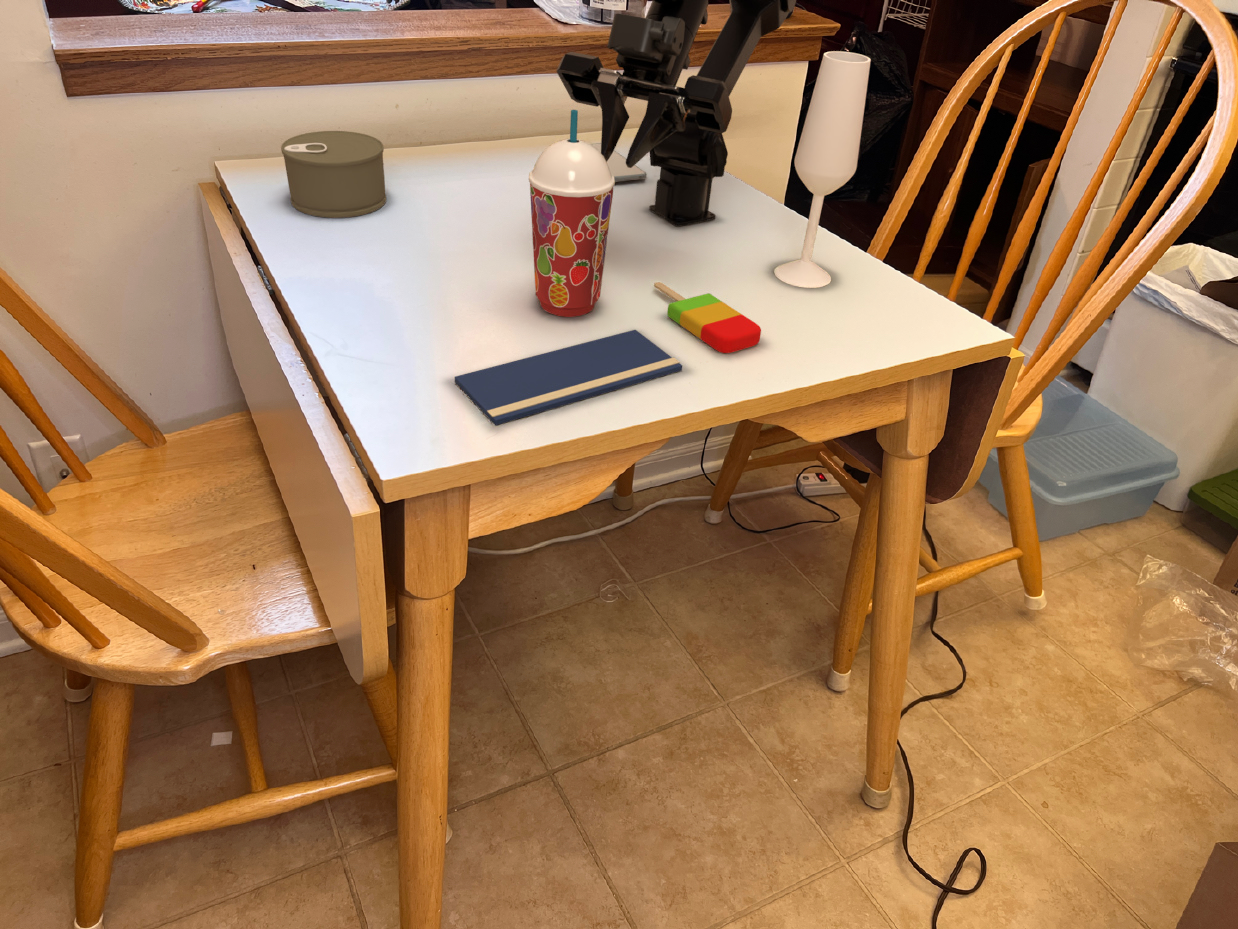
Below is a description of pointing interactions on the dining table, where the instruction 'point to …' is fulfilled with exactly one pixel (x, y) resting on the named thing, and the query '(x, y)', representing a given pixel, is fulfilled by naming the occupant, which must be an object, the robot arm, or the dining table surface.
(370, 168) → the can
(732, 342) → the popsicle
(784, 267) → the champagne flute
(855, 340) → the dining table surface
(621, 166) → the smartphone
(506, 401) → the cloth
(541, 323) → the dining table surface
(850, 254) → the dining table surface
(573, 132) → the smoothie
